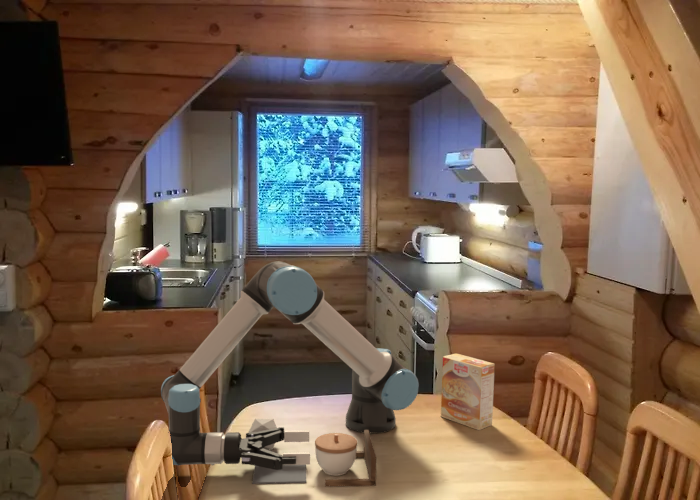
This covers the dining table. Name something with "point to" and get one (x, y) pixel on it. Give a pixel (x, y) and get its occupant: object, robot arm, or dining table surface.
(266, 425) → the die
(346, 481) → the shelf lane
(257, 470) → the pad
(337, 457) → the lidded jar
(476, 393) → the coffeecake box
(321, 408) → the dining table surface
